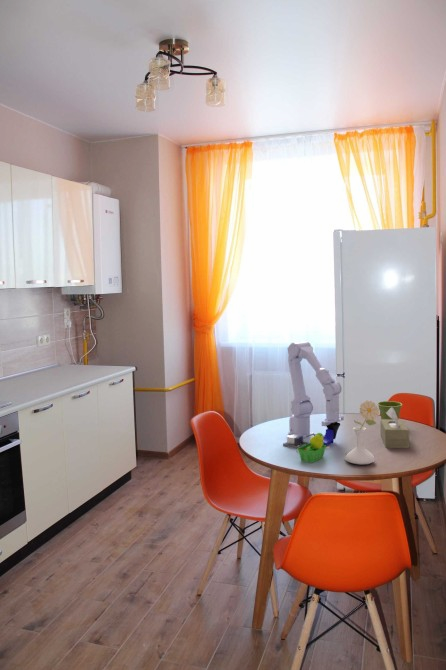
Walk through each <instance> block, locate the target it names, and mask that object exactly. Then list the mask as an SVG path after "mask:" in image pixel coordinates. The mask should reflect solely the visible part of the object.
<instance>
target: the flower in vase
mask: <svg viewBox="0 0 446 670" xmlns="http://www.w3.org/2000/svg"><path fill="white" fill-rule="evenodd" d="M359 414H360V416H362V419H364V422H362V423H361V422H358V421H356V420H354V419H353V421H354V423H355V424H359V425H361V426H355V427H353V428H352V429H353V430H354V432H355V435H356V446H355V448H353V449H352V450H350V451H349V452H348V453H347V454H346V455H345V457H344V459H345V460H346V462H348V463H350V464H353V465H369V464H371V463H373V462H374V461H375V460H376V458H375V456H374V455H373V453H372V452H370V451H369V450H368V449H366V448H365V446H364V441H363V439H364V433H365V431H366V430H367V428H366V427H365V426H364V425H365V424H367V425H368V426H374V425H377V422H376V421H375V420H374V419H376V418H378V417H379V415H380V409H379V407H378V405H376V403H375V402H374V401H372V400H365V401H363V402H361V403H360V405H359Z"/></svg>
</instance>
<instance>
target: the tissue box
mask: <svg viewBox="0 0 446 670" xmlns="http://www.w3.org/2000/svg"><path fill="white" fill-rule="evenodd" d="M386 414H387V415H388V416H389V417H390V418H391V419H381V418H380V438H381V440H382V442H383V445H384V448H386V449H387V448H390V449H391V448H392V449H394V448H395V449H410V429H409V428H408V427H407V425H406V423H405V422H404V421H403V419H398V418H397V415H396V412H395V410H394V409H393V407H391V408H390V409H389V410H388V412H386ZM392 419H393V420H392Z"/></svg>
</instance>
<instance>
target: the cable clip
mask: <svg viewBox="0 0 446 670" xmlns="http://www.w3.org/2000/svg"><path fill="white" fill-rule="evenodd" d="M316 434H317V433H314V434H313V436H315V435H316ZM322 435H323V445H326V446H331V445H332V444H334V442H335V441H334V440H335V439H334V432H333V430H332V429H328V428H326V429H325V434H322Z"/></svg>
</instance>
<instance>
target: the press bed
mask: <svg viewBox="0 0 446 670" xmlns="http://www.w3.org/2000/svg"><path fill="white" fill-rule="evenodd" d="M309 443H310V441H309V442H308V441H304V440H303V444H302V445H307V444H309ZM282 446H283V447H287V448H290V449H295V450H297V451H296V452H297V453H299V451H298V448H300V447H301V446H294V445H290V444H287V441H285V442H284V443H282ZM328 448H331V445H328V446H326V448H325V450H326V449H328Z"/></svg>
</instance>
